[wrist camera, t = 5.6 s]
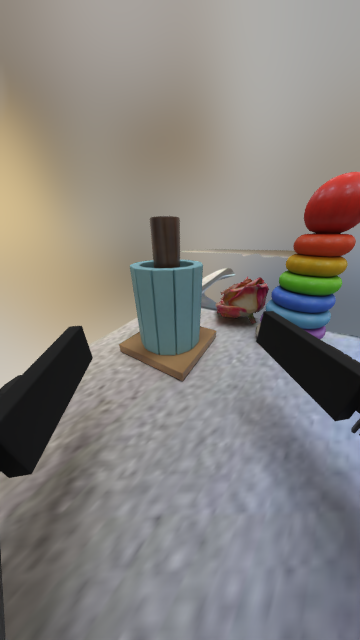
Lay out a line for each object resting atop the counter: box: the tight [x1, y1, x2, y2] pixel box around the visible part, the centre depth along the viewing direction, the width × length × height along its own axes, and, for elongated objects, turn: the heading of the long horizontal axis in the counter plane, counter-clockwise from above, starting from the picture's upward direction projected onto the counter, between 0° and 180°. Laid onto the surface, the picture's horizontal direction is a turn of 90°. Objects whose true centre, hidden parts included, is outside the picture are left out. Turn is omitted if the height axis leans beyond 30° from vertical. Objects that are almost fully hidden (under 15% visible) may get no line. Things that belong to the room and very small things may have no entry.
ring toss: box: [119, 216, 216, 381], centre depth 20 cm, size 10×10×16 cm
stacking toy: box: [256, 172, 360, 339], centre depth 19 cm, size 8×8×19 cm
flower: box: [216, 277, 269, 324], centre depth 28 cm, size 10×9×8 cm
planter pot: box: [130, 260, 203, 355], centre depth 20 cm, size 8×8×10 cm
